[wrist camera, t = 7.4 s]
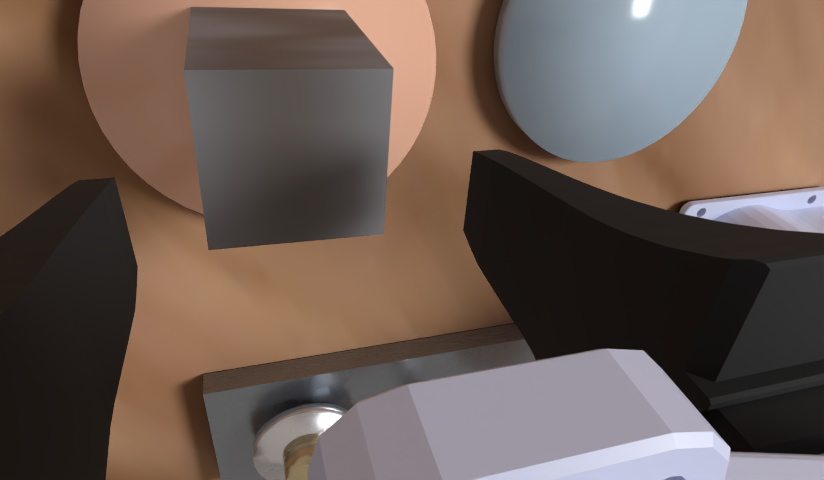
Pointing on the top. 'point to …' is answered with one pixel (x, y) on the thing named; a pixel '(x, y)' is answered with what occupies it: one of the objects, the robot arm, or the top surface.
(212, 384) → the balance
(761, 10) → the top surface
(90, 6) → the dish
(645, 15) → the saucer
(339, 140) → the block
